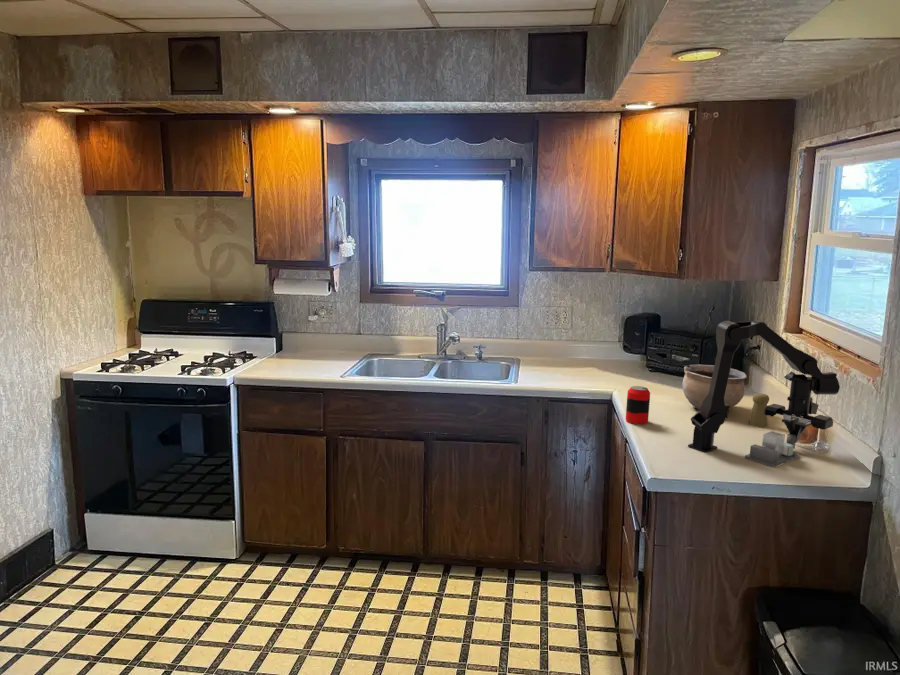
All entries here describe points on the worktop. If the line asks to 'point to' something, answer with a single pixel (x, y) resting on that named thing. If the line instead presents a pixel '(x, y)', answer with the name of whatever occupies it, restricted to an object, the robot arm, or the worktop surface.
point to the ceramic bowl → (700, 380)
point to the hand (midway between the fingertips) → (794, 442)
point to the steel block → (774, 442)
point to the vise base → (768, 456)
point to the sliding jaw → (789, 445)
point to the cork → (759, 410)
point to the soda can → (637, 405)
